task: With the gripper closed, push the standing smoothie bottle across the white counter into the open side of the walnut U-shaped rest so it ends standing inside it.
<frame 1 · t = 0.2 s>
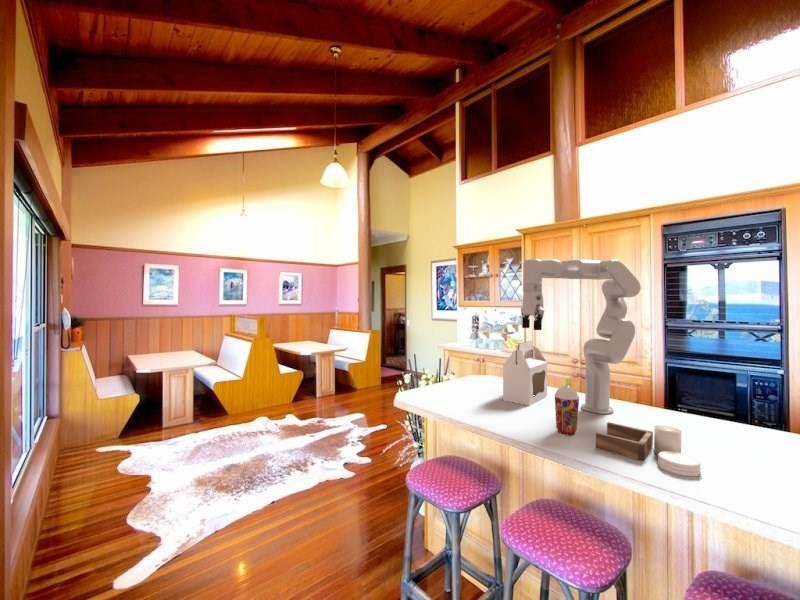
hand: (531, 328, 155), 37 cm above the table, tool pointing down, fingers open, 9 cm apart
smoothie: (566, 433, 136), on the table
beige cylinder: (667, 453, 118), on the table
gable box: (525, 398, 181), on the table
u rest: (621, 446, 123), on the table
coaster: (678, 469, 108), on the table
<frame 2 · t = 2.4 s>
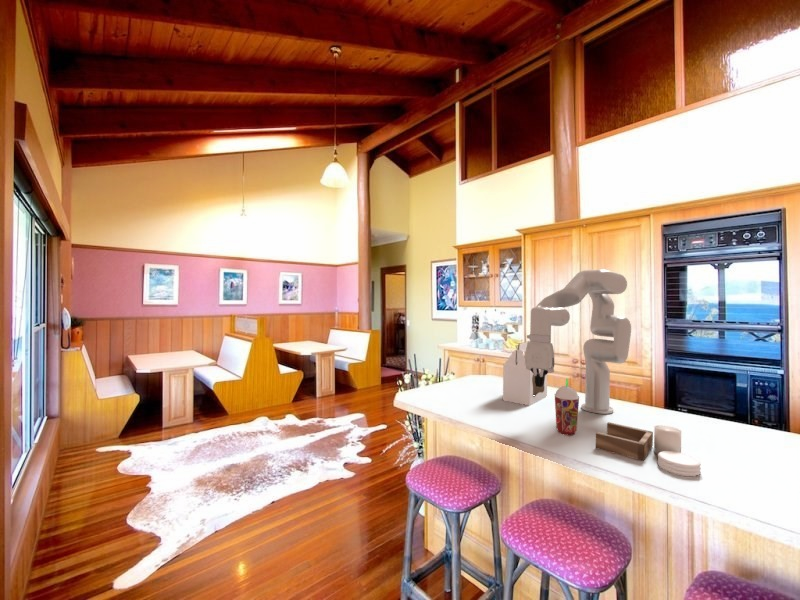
hand: (539, 386, 142), 16 cm above the table, tool pointing down, fingers closed
nothing on the table moved.
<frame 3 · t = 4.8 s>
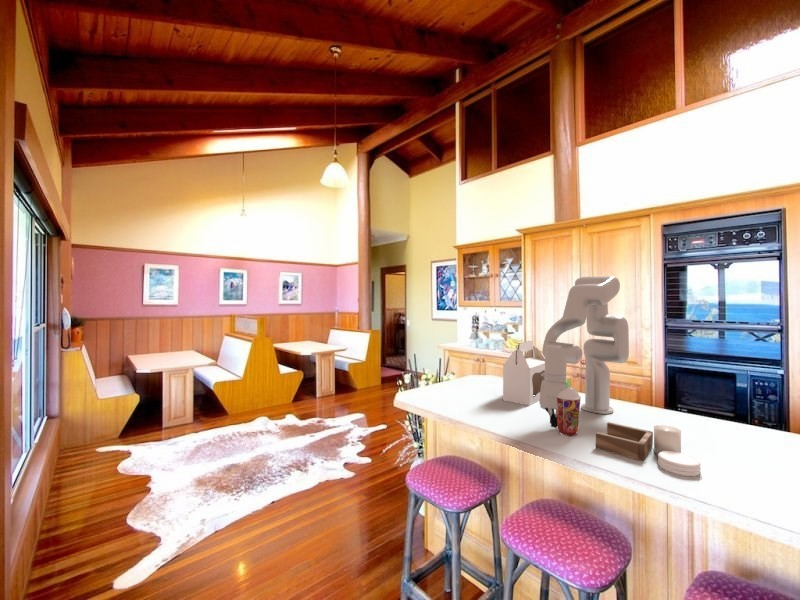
hand: (554, 426, 139), 1 cm above the table, tool pointing down, fingers closed
smoothie: (567, 433, 135), on the table, touching gripper
everything else where it was.
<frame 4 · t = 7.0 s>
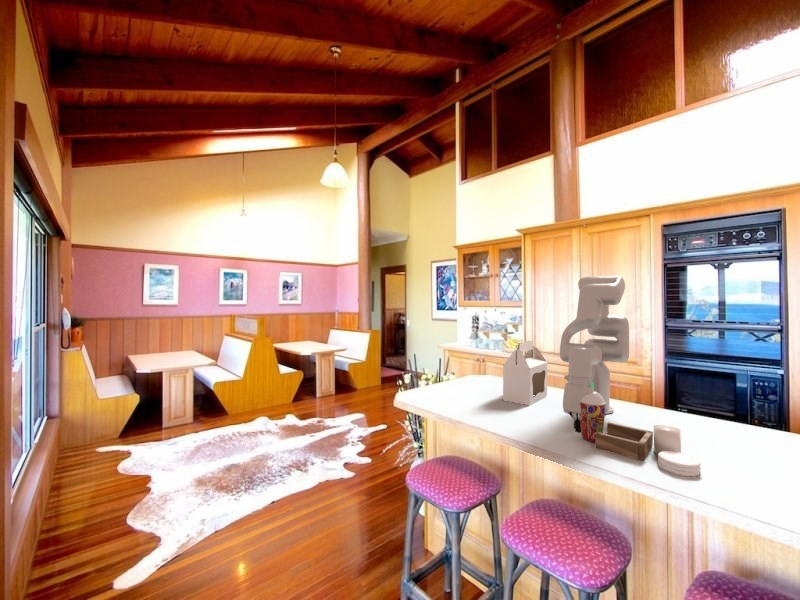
hand: (578, 431, 132), 2 cm above the table, tool pointing down, fingers closed
smoothie: (591, 440, 129), on the table, touching gripper
everything else where it was.
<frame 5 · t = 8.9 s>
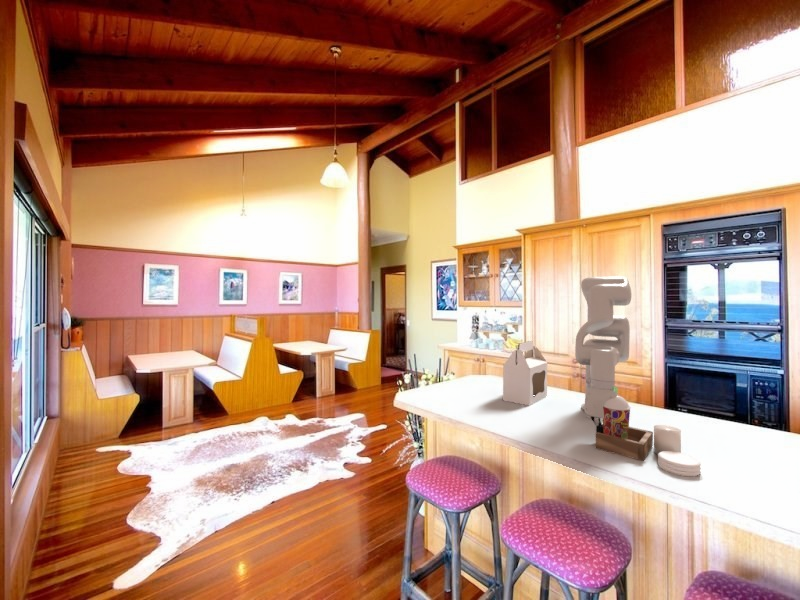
hand: (601, 437, 127), 2 cm above the table, tool pointing down, fingers closed
smoothie: (615, 446, 124), on the table, touching gripper
everything else where it was.
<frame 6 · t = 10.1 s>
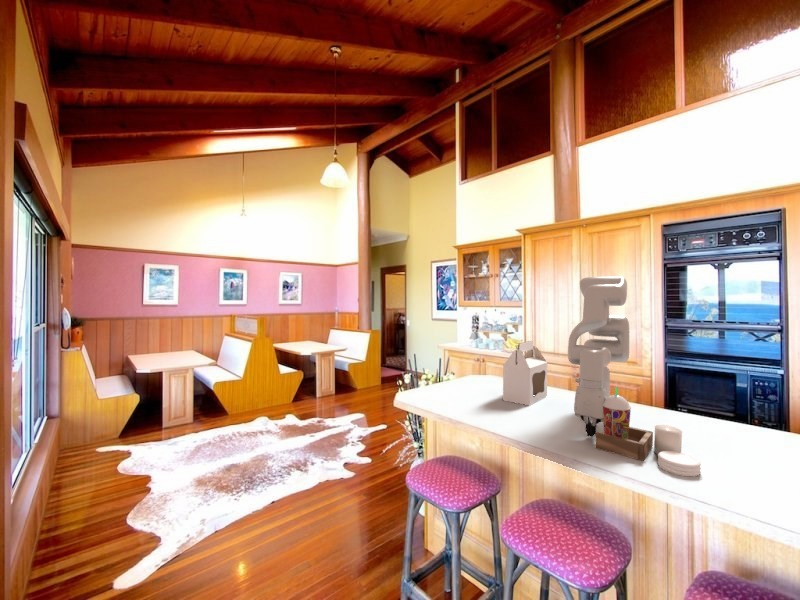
hand: (590, 435, 130), 1 cm above the table, tool pointing down, fingers closed
smoothie: (615, 446, 124), on the table
everything else where it was.
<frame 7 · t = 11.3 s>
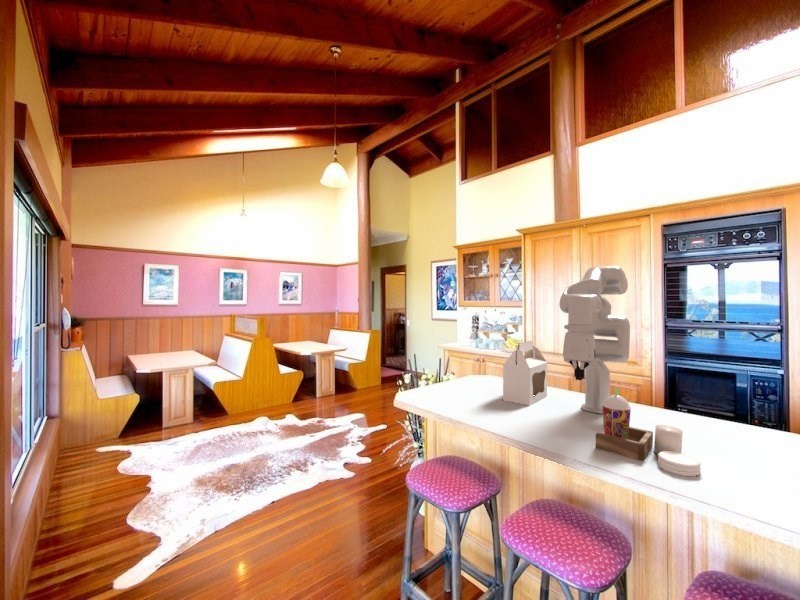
hand: (579, 379, 133), 20 cm above the table, tool pointing down, fingers closed
nothing on the table moved.
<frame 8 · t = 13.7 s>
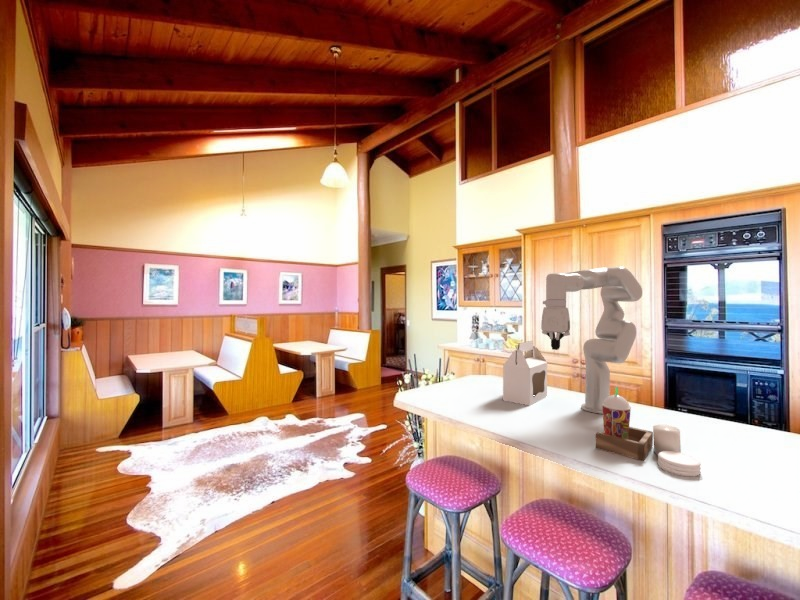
hand: (555, 349, 148), 29 cm above the table, tool pointing down, fingers closed
nothing on the table moved.
at the end: smoothie inside the target area (2.5 cm from its centre), on the table; smoothie tilted 0°; beige cylinder moved 0.2 cm from its start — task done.
